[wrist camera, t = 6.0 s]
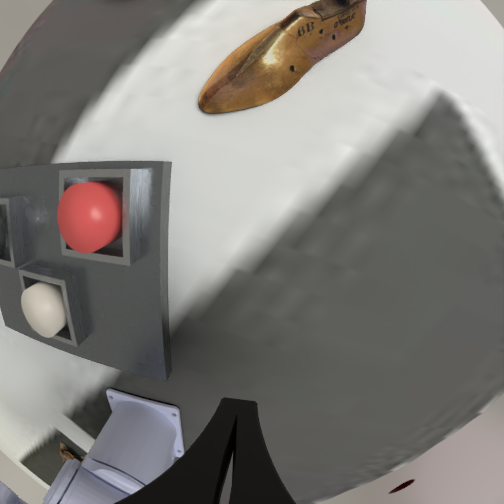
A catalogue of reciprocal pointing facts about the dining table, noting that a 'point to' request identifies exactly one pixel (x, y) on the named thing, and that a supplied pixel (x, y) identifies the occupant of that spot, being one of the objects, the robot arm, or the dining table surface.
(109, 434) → the robot arm
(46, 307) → the ivory button
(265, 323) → the dining table surface
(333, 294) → the dining table surface
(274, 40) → the shoe last
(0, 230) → the steel button
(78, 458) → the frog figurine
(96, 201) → the red button
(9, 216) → the slate panel
